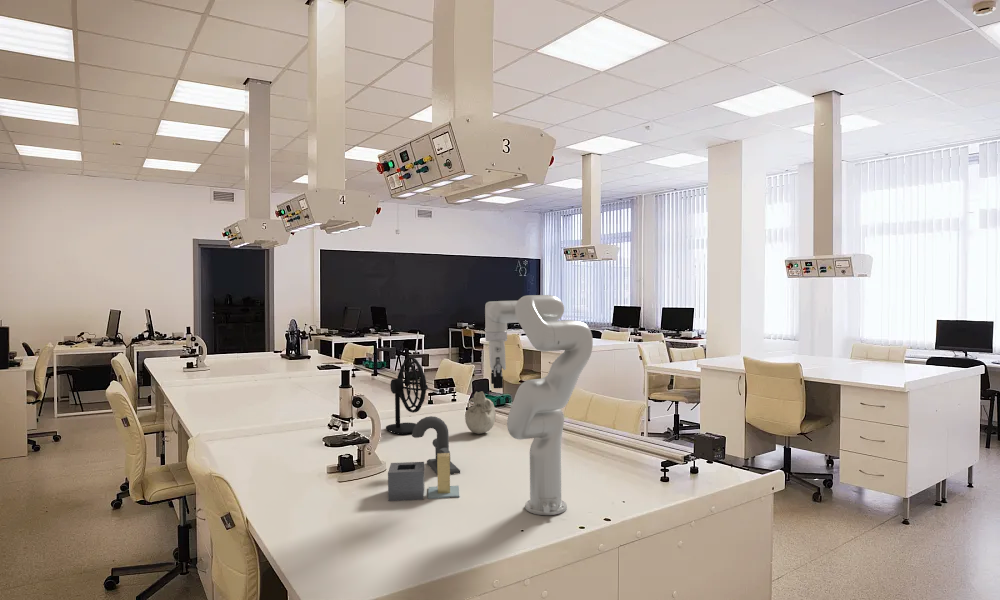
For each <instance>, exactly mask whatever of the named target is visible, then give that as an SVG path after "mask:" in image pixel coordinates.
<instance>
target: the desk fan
mask: <svg viewBox="0 0 1000 600" xmlns="http://www.w3.org/2000/svg"><path fill="white" fill-rule="evenodd" d="M410 360H412V361H411V362H410ZM413 364H415V365H416V366H417V368H415V367H414V365H413ZM406 365H408V366H407V369H406V370H405V368H406ZM410 369H411V370H412V379H410V376H409V373H410ZM417 371H418V373H419V376H420V378H419V380H418V375H417ZM404 373H405V380H404ZM411 380H412V381H411ZM404 385H405V386H404ZM411 385H412V387H411ZM389 386H390V391H391V394H394V401H395V402H394V404H395V405H394V407H395V408H394V412H395V417H394V418H395V420H394V421H395V423H392V424H388V425H386V426H385V430H386V429H388V430H390V431H392V432H395V433H399V434H398V435H408V434H407V433H412V432H413V429H414V427H415V425H416V424H417V422H416V423H415V422H401V401H402V404H403V406H404V408H405V409H406V411H408V412H409V413H418V412H419V411H420V410H421V408H422V406H423V404H424V403H425V399H426V393H427V390H428V389H429V385H427V378H426V375H425V373H424V369H423V367H422V366H421V364H420V363H419V360H417V358H415V357H413V356H410V357H409V356H408V357H407V358H405V359H404V361H403V363H402V364H401V366H400V369H399V371H398V374H397V378H393V379H391V380H390V385H389ZM405 390H406V395H407V398H406V396H405ZM411 391H413V393H414V401H413V400H412V398H411ZM419 391H420V397H419ZM417 400H419V401H417ZM408 401H409V403H410V405H411V406H410V405H409V404H408ZM417 402H418V403H417ZM416 403H417V404H416ZM412 408H414V409H412ZM388 430H387V431H388ZM390 431H389V432H390ZM392 432H391V433H392Z"/></svg>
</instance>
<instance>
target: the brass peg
mask: <svg viewBox="0 0 1000 600" xmlns="http://www.w3.org/2000/svg"><path fill="white" fill-rule="evenodd" d="M450 461H451V452H450V453H437V473H438V475H437V486H438V493H450V486H451V479H450V478H451V475H450Z"/></svg>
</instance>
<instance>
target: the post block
mask: <svg viewBox="0 0 1000 600" xmlns="http://www.w3.org/2000/svg"><path fill="white" fill-rule="evenodd" d="M424 497H425V461H415V462H414V461H410V462H409V461H408V462H407V461H405V462H390V465H389V469H388V472H387V499H388V501H387V502H394V501H396V502H397V501H417V500H419V501H422V500H424Z"/></svg>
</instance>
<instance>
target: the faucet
mask: <svg viewBox="0 0 1000 600" xmlns="http://www.w3.org/2000/svg"><path fill="white" fill-rule="evenodd" d="M429 429H433V430H434V431H436V432H435V433H436V438H434V439H433V441H432V446H433V447H434V449H435V458H429V459H427V460H426V465H427V466H428V465H429V466H430V467H431V468H430V467H429V466H428V467H429V468H430V469H431V470H432V471H433V472H434V473H435V474H436V476H438V473H437V453H450V454H451V452H450V450H449V449H450V446H449V441H450V440H449V438H450V437H449V435H450V434H449V428H448V425H447V424H446V423H445V421H444V420H442V418H440V417H438V416H437V417H436V416H431V415H430V416H425V417H423V418H420V420H418V422H416V425H415V427H414V429H413V432H412V434H411V437H412V438H415V439H417V438H423V437H424V436H425V434H426V433H425V432H427V430H429ZM454 473H459V474H461V469H459V468H458V467H457V465H455V464H454V463H453V462H452V461H451V460H450V474H451V475H455V474H454Z"/></svg>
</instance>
